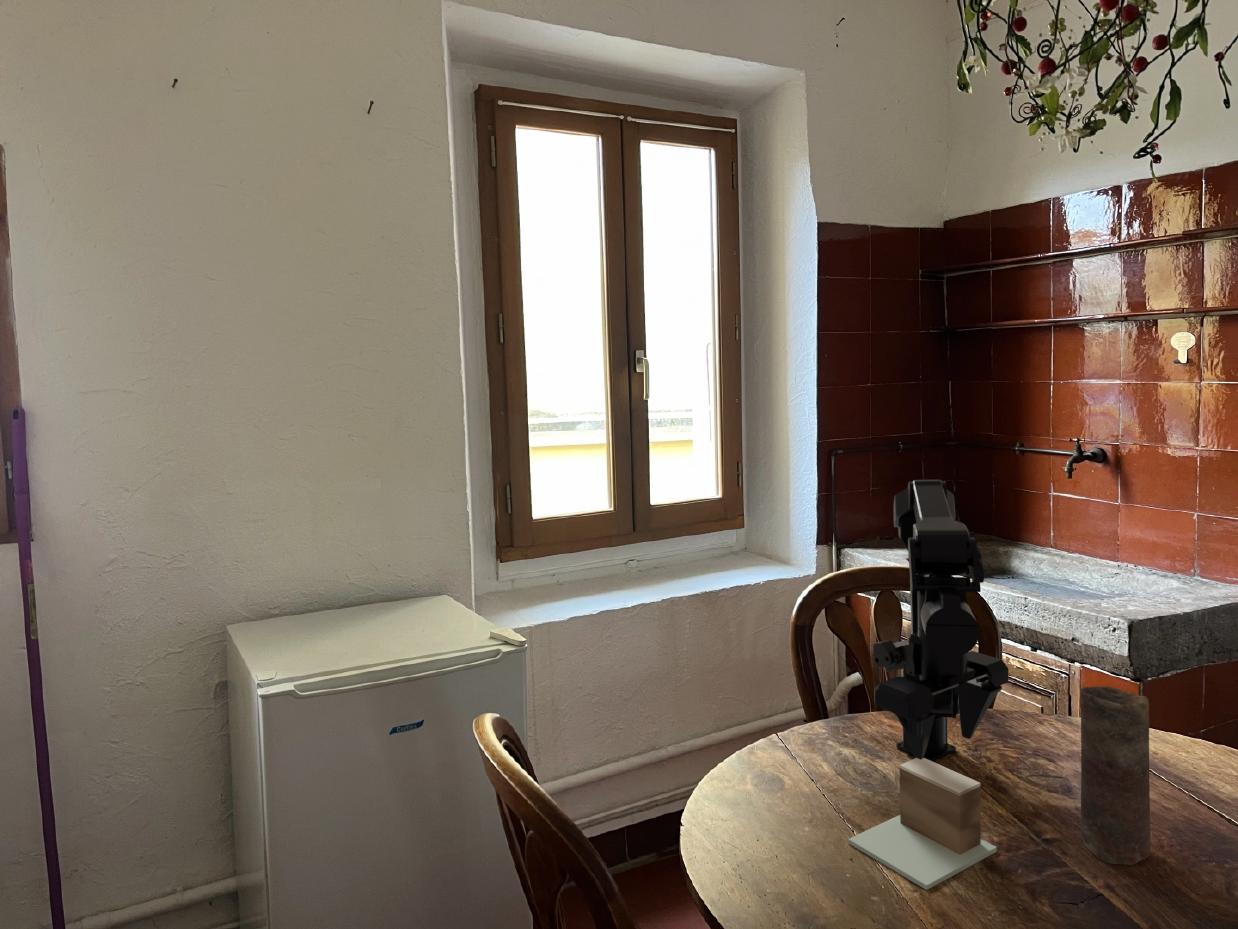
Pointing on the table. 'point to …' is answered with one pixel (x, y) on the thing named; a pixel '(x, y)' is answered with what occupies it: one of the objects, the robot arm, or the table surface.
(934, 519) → the robot arm
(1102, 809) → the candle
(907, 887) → the table surface
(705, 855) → the table surface
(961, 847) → the walnut slab
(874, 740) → the table surface
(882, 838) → the sage mat
